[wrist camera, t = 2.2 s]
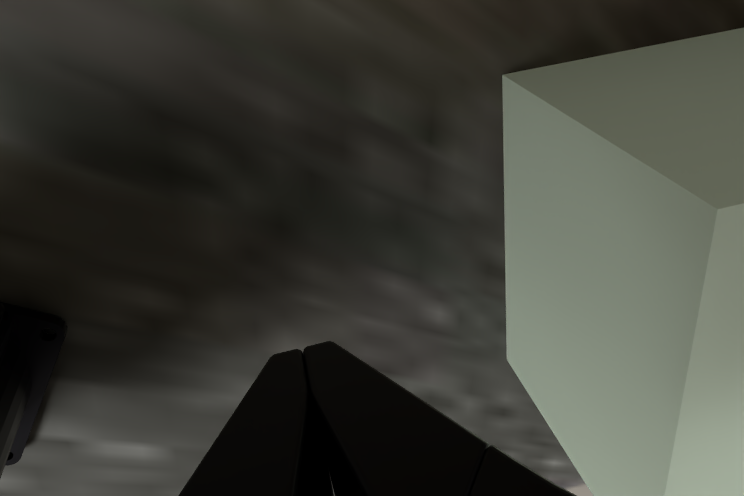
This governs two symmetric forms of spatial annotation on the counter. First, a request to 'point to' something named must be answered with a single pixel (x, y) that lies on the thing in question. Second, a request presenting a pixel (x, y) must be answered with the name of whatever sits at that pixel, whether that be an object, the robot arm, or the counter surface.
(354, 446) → the robot arm
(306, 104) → the counter surface
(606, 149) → the block
